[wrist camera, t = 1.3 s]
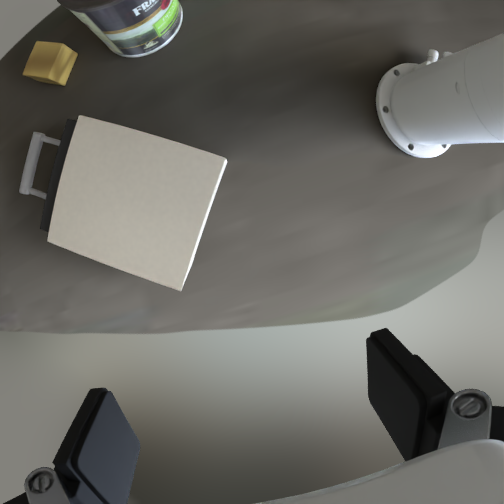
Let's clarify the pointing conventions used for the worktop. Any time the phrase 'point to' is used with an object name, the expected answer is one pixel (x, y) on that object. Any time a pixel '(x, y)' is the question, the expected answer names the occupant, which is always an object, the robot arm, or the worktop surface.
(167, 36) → the coffee can
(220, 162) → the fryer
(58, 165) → the dark grey storage bin
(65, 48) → the cube
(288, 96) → the worktop surface
